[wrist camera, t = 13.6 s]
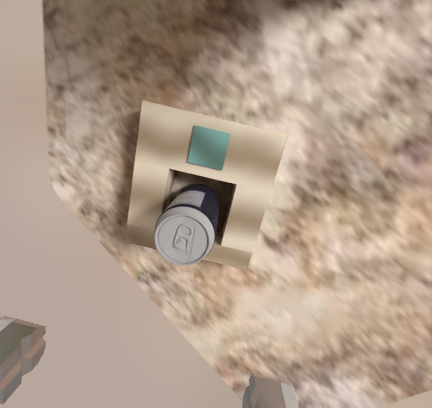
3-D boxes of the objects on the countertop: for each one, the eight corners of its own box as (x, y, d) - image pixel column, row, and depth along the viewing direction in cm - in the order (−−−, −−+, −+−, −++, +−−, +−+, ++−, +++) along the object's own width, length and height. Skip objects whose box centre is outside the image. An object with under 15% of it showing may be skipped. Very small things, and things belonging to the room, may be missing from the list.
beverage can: (173, 214, 32) (143, 257, 20) (185, 176, 30) (159, 200, 19) (212, 227, 32) (202, 277, 21) (225, 190, 31) (223, 222, 19)
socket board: (154, 105, 28) (141, 99, 24) (280, 135, 28) (288, 134, 24) (137, 229, 33) (123, 242, 29) (244, 254, 33) (247, 271, 29)
